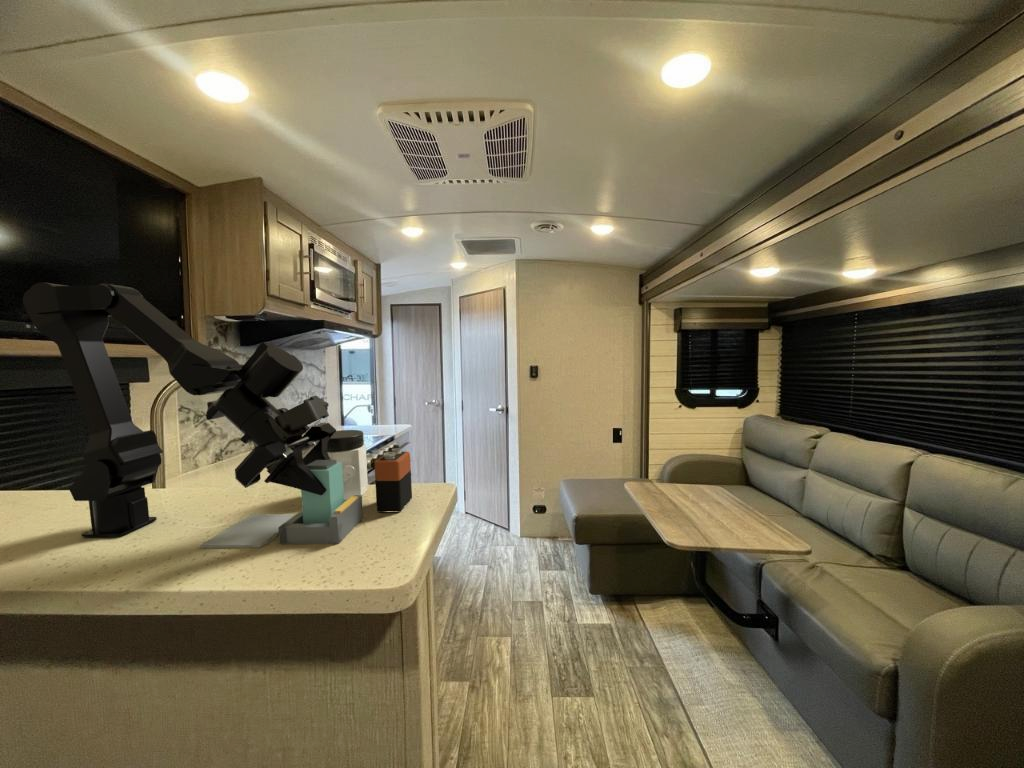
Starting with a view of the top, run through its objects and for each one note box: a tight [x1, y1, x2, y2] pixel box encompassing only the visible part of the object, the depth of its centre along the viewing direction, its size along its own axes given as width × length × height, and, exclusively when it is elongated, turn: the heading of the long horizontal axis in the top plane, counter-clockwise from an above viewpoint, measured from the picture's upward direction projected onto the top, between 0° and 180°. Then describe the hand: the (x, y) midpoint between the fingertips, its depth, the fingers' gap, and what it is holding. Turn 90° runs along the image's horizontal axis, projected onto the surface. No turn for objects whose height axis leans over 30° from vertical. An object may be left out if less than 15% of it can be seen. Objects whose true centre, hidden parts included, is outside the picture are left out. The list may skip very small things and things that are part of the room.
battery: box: [373, 447, 413, 512], centre depth 73 cm, size 4×7×10 cm, turn 176°
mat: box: [199, 513, 297, 549], centre depth 64 cm, size 9×11×1 cm
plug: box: [300, 460, 345, 524], centre depth 64 cm, size 4×4×11 cm
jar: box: [327, 429, 369, 502], centre depth 79 cm, size 9×8×12 cm
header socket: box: [278, 495, 364, 545], centre depth 63 cm, size 9×9×4 cm
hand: (331, 487), depth 63 cm, fingers closed on plug, 4 cm apart
